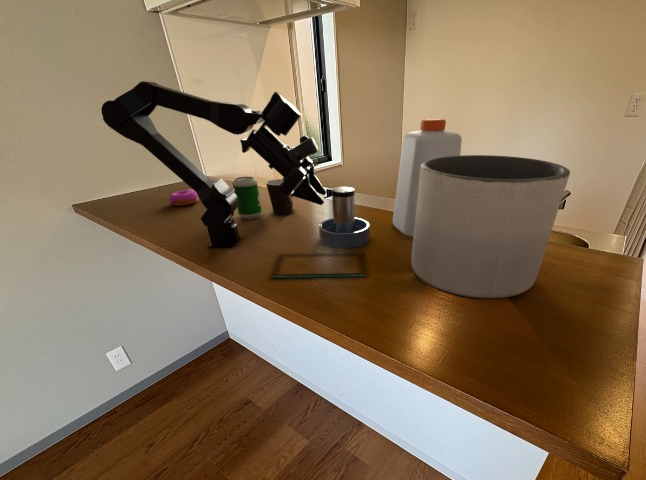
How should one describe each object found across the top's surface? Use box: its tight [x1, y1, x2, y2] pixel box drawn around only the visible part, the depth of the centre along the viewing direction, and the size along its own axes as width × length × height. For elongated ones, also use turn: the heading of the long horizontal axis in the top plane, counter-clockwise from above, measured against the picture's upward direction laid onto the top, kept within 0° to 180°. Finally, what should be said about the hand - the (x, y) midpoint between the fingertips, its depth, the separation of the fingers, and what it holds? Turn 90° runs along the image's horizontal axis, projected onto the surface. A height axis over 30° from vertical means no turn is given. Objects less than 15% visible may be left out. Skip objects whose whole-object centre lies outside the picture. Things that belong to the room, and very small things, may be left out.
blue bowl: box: [318, 217, 370, 250], centre depth 85 cm, size 13×13×4 cm
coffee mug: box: [265, 178, 294, 216], centre depth 108 cm, size 12×9×10 cm
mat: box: [271, 272, 365, 280], centre depth 74 cm, size 20×12×1 cm, turn 90°
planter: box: [410, 154, 571, 301], centre depth 64 cm, size 25×25×22 cm
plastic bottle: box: [392, 118, 463, 238], centre depth 86 cm, size 15×15×28 cm
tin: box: [331, 186, 356, 233], centre depth 83 cm, size 6×6×13 cm
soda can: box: [231, 176, 263, 220], centre depth 103 cm, size 8×8×12 cm
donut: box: [168, 188, 199, 207], centre depth 119 cm, size 10×10×5 cm
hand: (324, 198), depth 80 cm, fingers open, 9 cm apart
